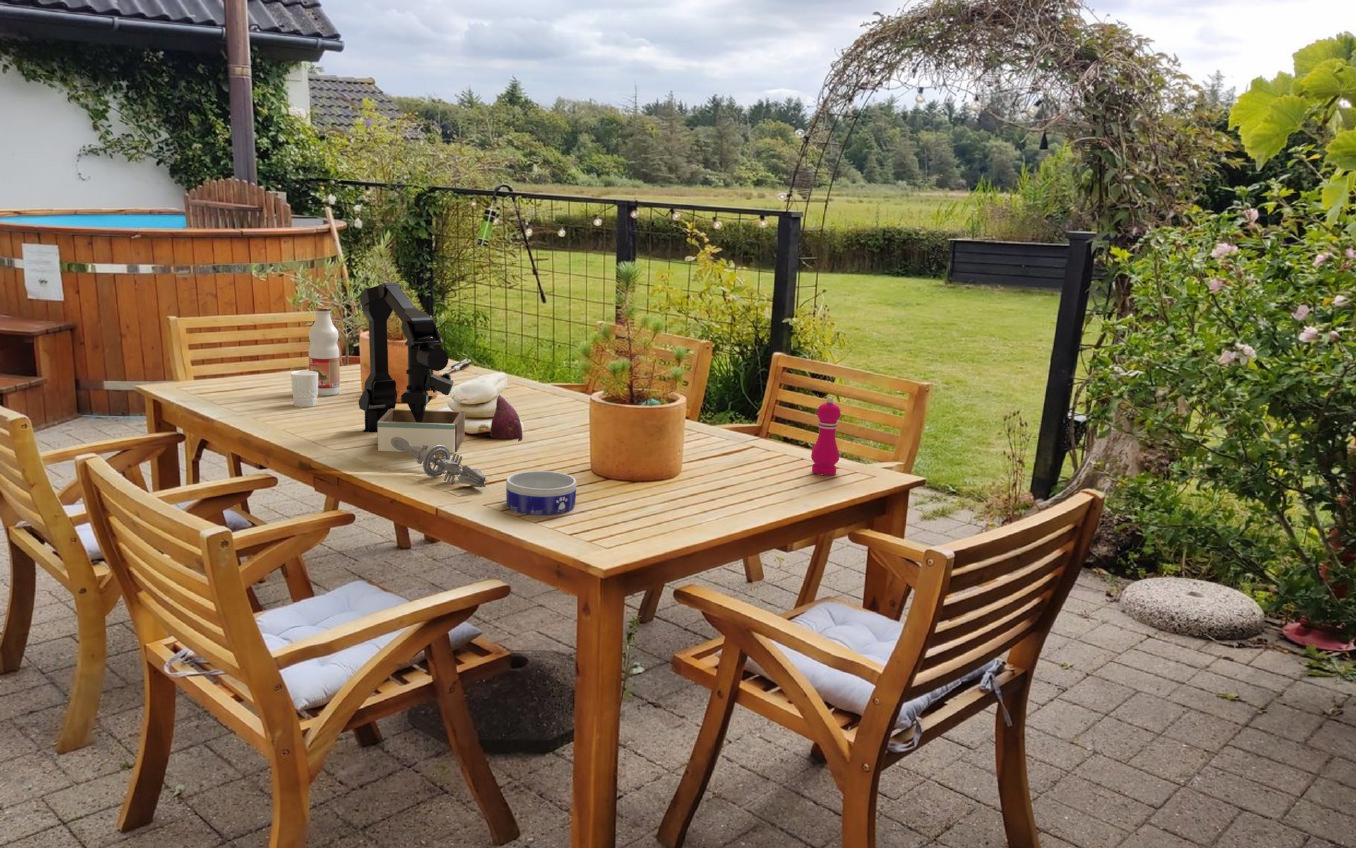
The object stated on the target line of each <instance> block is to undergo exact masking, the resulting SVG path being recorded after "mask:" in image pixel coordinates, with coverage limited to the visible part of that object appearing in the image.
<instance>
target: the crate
mask: <svg viewBox="0 0 1356 848" xmlns="http://www.w3.org/2000/svg"><path fill="white" fill-rule="evenodd" d="M465 414H466V412H465V411H460V410H458V411H455V410H429V409H425V413H424V417H423V422H422V423H443V424H455V453H458V450H459V449H460V447H461V445H462V444H463V442H464V440H465V433H466V432H465V431H466V430H465V428H466V427H465V424H466V415H465ZM379 421H383V422H413V423H416V421H415V418H414V416H413V414H412V412H411V410H410V409H403V408H401V409H399V408H398V409H397V408H395V409H389V410H388V411H387V412H386V413H385V414H384V415H383V417H382V418H381V419H380V420H379ZM379 421H378V422H379ZM378 422H377V432H376V433H378Z"/></svg>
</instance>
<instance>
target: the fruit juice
mask: <svg viewBox="0 0 1356 848" xmlns="http://www.w3.org/2000/svg"><path fill="white" fill-rule="evenodd" d="M314 312H315V320H314V323H313V324H312V326H311V327H310V329H309V330H308V340H309V342H310V343H309V347H308V371H316V372H318V396H322V397H323V396H324V397H325V396H329V397H330V396H335V395H339V394H340V392H341V373H340V366H341V365H340V364H341V363H340V361H341V360H340V348H339V344H338V340H339V337H340V335H339V330H338V329H337V328H336V326H335V325H334V323H333V321H332V317H331V313H332V307H331V306H325V305H324V306H323V305H322V306H320V305H319V306H315V308H314Z"/></svg>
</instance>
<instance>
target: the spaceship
mask: <svg viewBox="0 0 1356 848" xmlns="http://www.w3.org/2000/svg"><path fill="white" fill-rule="evenodd" d="M391 444H392V446H393V447H394V448H396V449H397V450H400V451H402V452H401V453H410V454H411V455H412V456H413V457H414V458H415V459H416V463H417V464H419V465H422V468H423V471H424V473H425V474H426V476H428V477H430V478H435V477H440V476H441V475H442V474H443V473H445V475H444V478H443V481H445V482H447V483H449V484H451V485H452V484H453V483H454V481H455V478H457V480H458V483H459V484H463V485H469V486H470V487H477V488H487V487H486V485H485V483H487V482H489V479H488V478H487V477H486V475H485V474H484V473H483V472H482V471H481V470H480V469H479V468H471V467H470V466H468V465H463V464H461V463H462V459H463V456H462V455H460V454H457V453H456V452H455V453H453V454H452V458H451V453H450V452H449V450H448V449H447V448H446V447H445V446H443V445H437V446H434V447H432V448H431V449H430V450H429V451H428V450H427V448H428V446H427V445H423V447H416V446H412V445H411V444H410V443H409V441H407V440H405V439H403V438H400V437H394V438H392V439H391ZM438 452H439V453H438ZM436 454H437V455H436ZM432 466H433V468H432Z"/></svg>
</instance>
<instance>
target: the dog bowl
mask: <svg viewBox="0 0 1356 848" xmlns="http://www.w3.org/2000/svg"><path fill="white" fill-rule="evenodd" d="M505 482H506V486H505V487H506V489H505V490H506V497H505V498H506V507H507V508H508V509H509V508H510V509H509V510H511V511H513V512H515V511H516V513H519V514H523V513H525V514H524V515H529V514H530V515H531V516H554V515H562V514H564V513H569V512H570V511H572V510H574V508H575V507H576V498H577V497H576V496H577V480H576V479H575V477H574V476H571V475H570V474H567V473H563V472H557V471H547V470H546V471H545V470H530V471H522V472H517V473H513V474H511V475H508V476H507V478H506V481H505Z"/></svg>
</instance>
